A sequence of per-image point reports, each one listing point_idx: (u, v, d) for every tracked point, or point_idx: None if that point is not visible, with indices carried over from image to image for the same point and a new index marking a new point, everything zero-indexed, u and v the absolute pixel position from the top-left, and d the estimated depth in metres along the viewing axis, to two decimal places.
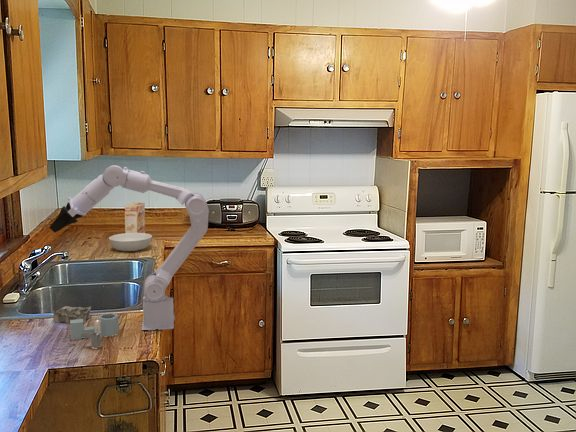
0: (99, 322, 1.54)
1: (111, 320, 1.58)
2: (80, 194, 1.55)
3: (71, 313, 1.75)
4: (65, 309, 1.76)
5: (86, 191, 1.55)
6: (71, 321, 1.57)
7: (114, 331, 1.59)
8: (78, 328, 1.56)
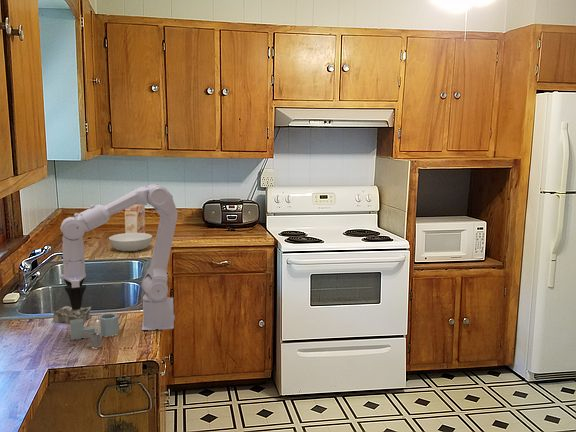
0: (99, 322, 1.54)
1: (111, 320, 1.58)
2: (65, 266, 1.52)
3: (71, 313, 1.75)
4: (65, 309, 1.76)
5: (67, 259, 1.51)
6: (71, 321, 1.57)
7: (114, 331, 1.59)
8: (78, 328, 1.56)
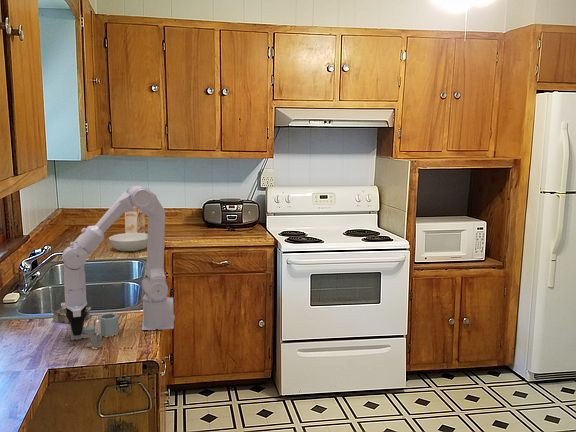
0: (99, 322, 1.54)
1: (111, 320, 1.58)
2: (67, 294, 1.53)
3: None
4: (65, 309, 1.76)
5: (69, 288, 1.53)
6: None
7: (114, 331, 1.59)
8: None
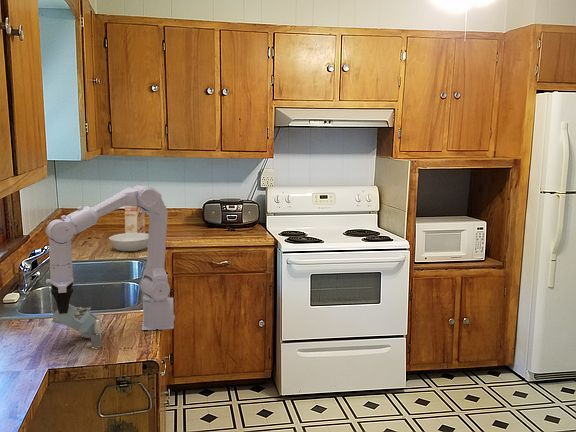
0: (99, 322, 1.54)
1: None
2: (52, 270, 1.46)
3: None
4: None
5: (56, 263, 1.46)
6: None
7: None
8: (69, 314, 1.50)
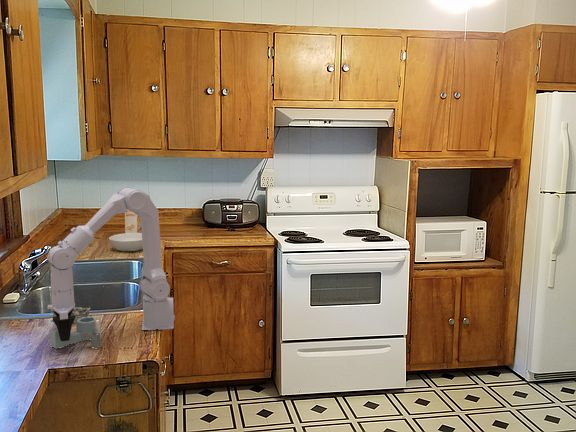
0: (99, 322, 1.54)
1: None
2: (54, 296, 1.47)
3: (72, 313, 1.75)
4: None
5: (57, 290, 1.47)
6: (53, 330, 1.49)
7: None
8: None
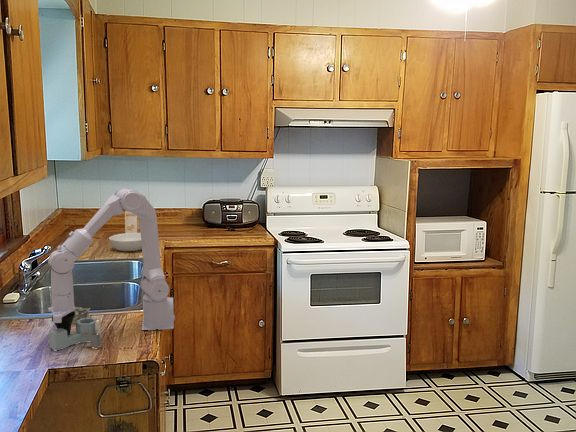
0: (99, 322, 1.54)
1: None
2: (52, 299, 1.50)
3: None
4: None
5: (57, 293, 1.49)
6: (53, 332, 1.48)
7: None
8: (62, 338, 1.49)
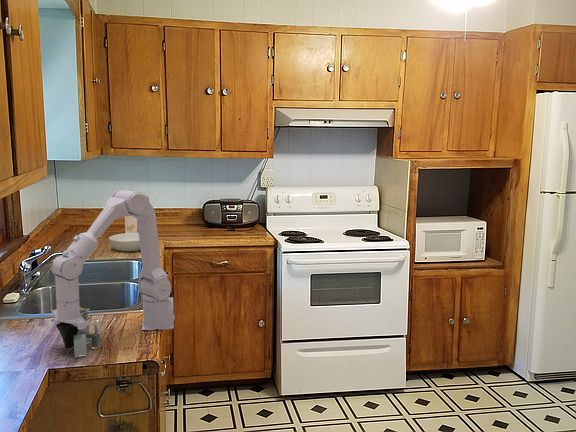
0: (99, 322, 1.54)
1: (88, 324, 1.55)
2: (63, 308, 1.43)
3: None
4: None
5: (65, 301, 1.43)
6: (79, 338, 1.44)
7: None
8: None
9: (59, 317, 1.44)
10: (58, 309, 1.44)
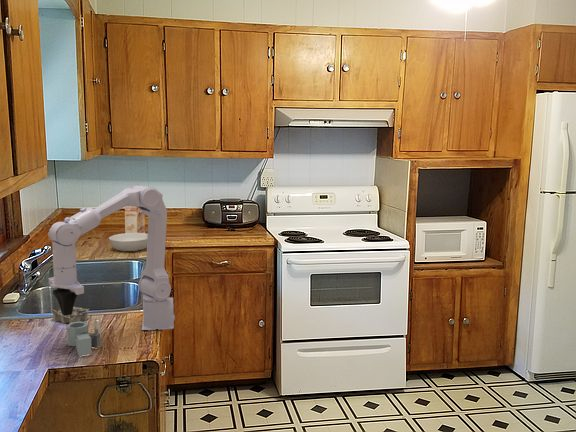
0: (99, 322, 1.54)
1: None
2: (60, 273, 1.43)
3: None
4: None
5: (61, 267, 1.43)
6: (83, 338, 1.44)
7: None
8: None
9: (56, 283, 1.44)
10: (55, 275, 1.44)
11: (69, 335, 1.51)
